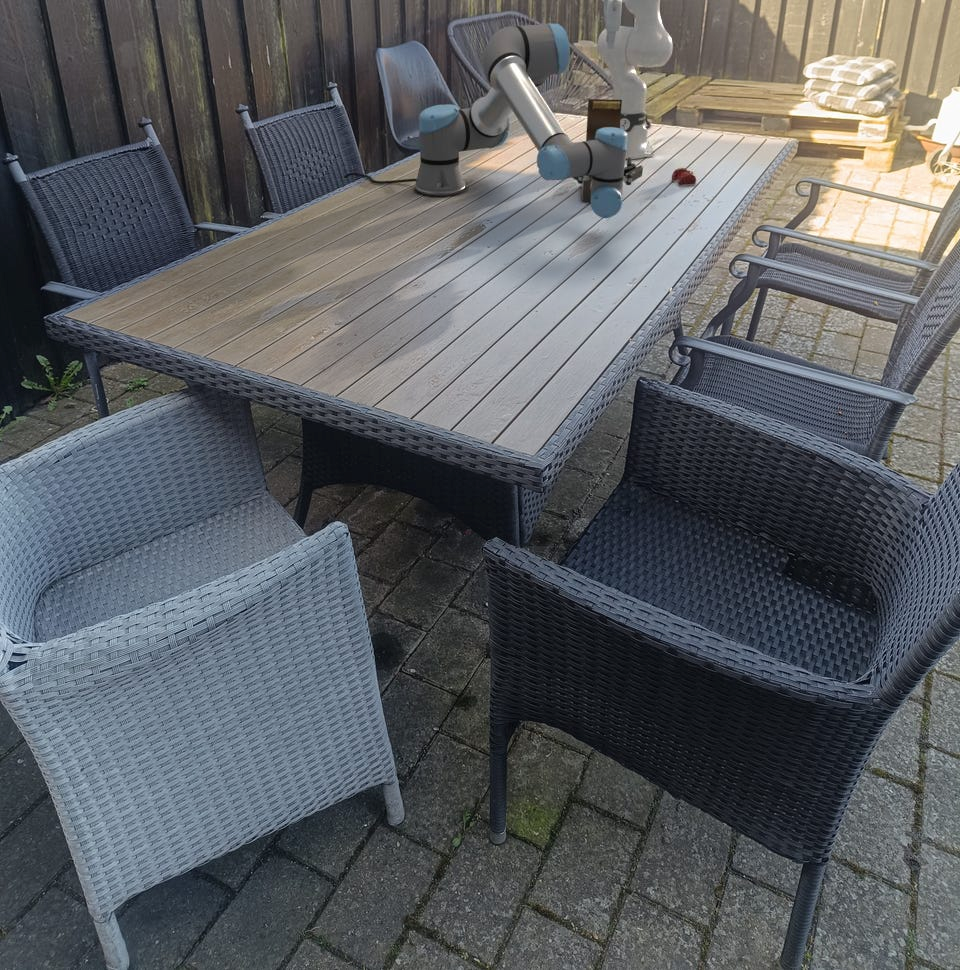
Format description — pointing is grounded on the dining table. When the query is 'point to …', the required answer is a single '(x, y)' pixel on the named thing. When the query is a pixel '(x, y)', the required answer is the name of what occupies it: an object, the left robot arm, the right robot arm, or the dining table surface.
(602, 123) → the lid
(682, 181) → the dark red rounded lump
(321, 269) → the dining table surface
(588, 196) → the chest
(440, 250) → the dining table surface
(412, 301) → the dining table surface
